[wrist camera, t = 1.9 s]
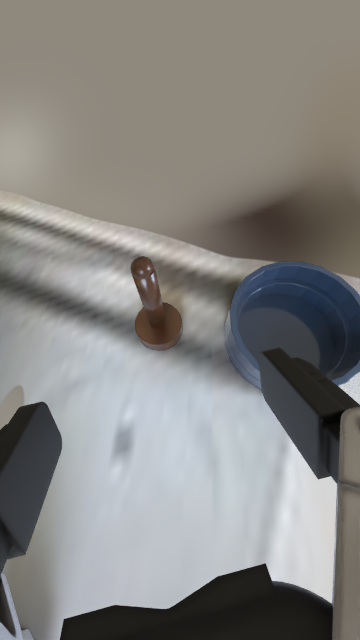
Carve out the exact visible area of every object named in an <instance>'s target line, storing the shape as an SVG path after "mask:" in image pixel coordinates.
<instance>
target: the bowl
mask: <svg viewBox="0 0 360 640" xmlns="http://www.w3.org/2000/svg"><path fill="white" fill-rule="evenodd" d="M224 337H225V347H226V349H227V352H228V354H229V357H230V360H231V362H232V364H233V365H234V366H235V367H236V369H237V370H238V371H239V372H240V374H241V375H242V376H243V377H244V378H245V379H246V380H247V381H249V382H250V383H252V384H253V385H255V386H256V387H257V388H259V389H260V390H262V389H261V380H260V369H259V352H261V351H266V350H270V349H274V348H278V347H279V348H281V349H283V350H284V351H285V352H286V353H287V354H288V355H289V356H290V357H291V358H295V357H299V358H301V359H303V360H306V361H308V362H310V363H312V364H313V365H314V366H315V367H316V368H317V369H319V370H320V371H321V373H323V374H324V375H326V376H327V377H328V378H329V380H331V381H333V382H334V383H335V384H336V385H337V386H339V385H341V384H344V383H346V382H348V381H349V380H350V379H352V378H353V377H354V376H355V375H356V374H358V373H359V372H360V296H359V294H358V293H357V291H356V290H355V289H354V288H352V287H351V286H350V285H349V284H348V283H347V282H346V281H345V280H343V279H342V278H341V277H340V276H338V275H336V274H334V273H332V272H330V271H328V270H327V269H325V268H323V267H320V266H316V265H313V264H308V263H305V262H299V261H297V262H296V261H294V262H277V263H273V264H270V265H266V266H263V267H261V268H259V269H258V270H256V271H255V272H253V273H251V274H250V275H248V276H247V277H246V278H245V279H244V280H243V282H242V283H241V284H240V286H239V287H238V288H237V289H236V291H235V293H234V297H233V300H232V303H231V306H230V310H229V313H228V316H227V319H226V323H225V326H224Z"/></svg>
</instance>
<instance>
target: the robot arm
mask: <svg viewBox="0 0 360 640" xmlns="http://www.w3.org/2000/svg"><path fill="white" fill-rule="evenodd" d="M259 369H260V380H261V389H262V393H263V396H264V398H265V401H266V402H267V404H268V405H269V407H270V408H271V410H272V411H273V413H274V414H275V416H276V417H277V419H278V420H279V422H280V423H281V425H282V426H283V428H284V429H285V431H286V432H287V434H288V435H289V437H290V438H291V440H292V441H293V443H294V444H295V446H296V447H297V449H298V450H299V452H300V453H301V455H302V456H303V458H304V459H305V460H306V462H307V463H308V465H309V466H310V468H311V469H312V471H313V472H314V474H315V475H316V477H317V478H318V479H321V478H325V477H329V476H332V478H333V479H334V480H335V482H336V483H337V502H336V526H335V549H334V571H333V593H332V604H331V603H330V602H328V601H327V600H325V599H324V598H322V597H320V596H318V595H317V594H315V593H313V592H311V591H309V590H307V589H304V588H301V587H299V586H296V585H293V584H289V583H284V582H278V581H272V580H271V577H270V575H269V572H268V569H267V566H266V563H265V564H262V565H258V566H255V567H251V568H247V569H244V570H240V571H237V572H233V573H229V574H226V575H222V576H218V577H216V578H215V579H213V580H212V581H210V582H209V583H207V584H206V585H204V586H203V587H201V588H200V589H198V590H197V591H195V592H194V593H192V594H191V595H189V596H188V597H186V598H185V599H183V600H182V601H180V602H179V603H177V604H176V605H174V606H173V607H171V608H168V609H154V608H143V607H131V606H119V605H114V606H110V607H106V608H103V609H99V610H96V611H92V612H88V613H85V614H81V615H78V616H74V617H70V618H67V619H64V621H63V626H62V632H61V637H60V640H360V405H359V404H358V403H357V402H356V401H355V400H353V399H352V398H351V397H350V396H349V395H348V394H347V393H345V392H344V391H343V390H342V389H341V388H340V387H338V386H337V385H336V384H335V383H334V382H333V381H331V380H329V378H328V377H327V376H326V375H324V374H323V373H321V371H320V370H319V369H317V368H316V367H315V366H314V365H313V364H312V363H310V362H308V361H306V360H303V359H301V358H299V357H295V358H291V357H290V356H289V355H288V354H287V353H286V352H285V351H284V350H283V349H281V348H279V347H278V348H274V349H270V350H266V351H261V352H259ZM61 449H62V439H61V434H60V432H59V430H58V428H57V425H56V423H55V421H54V419H53V417H52V415H51V412H50V410H49V408H48V406H47V404H46V403H44V402H39V403H34V404H30V405H26V406H22V407H20V408H18V410H17V411H16V413H15V414H14V416H13V417H12V419H11V420H10V422H9V423H8V424H7V425H5V426H4V427H3V428H2V429H1V430H0V640H24V637H23V634H22V631H21V627H20V624H19V620H18V617H17V613H16V610H15V607H14V603H13V600H12V596H11V593H10V589H9V586H8V583H7V579H6V577H5V575H4V574H3V572H2V571H3V568H4V565H5V563H6V560H7V559H10V558H14V557H18V556H22V555H25V554H26V551H27V549H28V546H29V543H30V540H31V537H32V534H33V531H34V528H35V525H36V523H37V520H38V517H39V514H40V511H41V508H42V505H43V502H44V499H45V497H46V494H47V491H48V488H49V485H50V482H51V479H52V476H53V473H54V471H55V468H56V465H57V462H58V459H59V456H60V453H61Z"/></svg>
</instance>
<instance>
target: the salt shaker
mask: <svg viewBox="0 0 360 640" xmlns="http://www.w3.org/2000/svg"><path fill="white" fill-rule="evenodd" d="M21 631H22V634H23V637H24V640H34V638H33V637H32V635H31V633H30V631H29V630H28V629H25V630H21Z"/></svg>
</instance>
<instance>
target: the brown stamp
mask: <svg viewBox="0 0 360 640" xmlns="http://www.w3.org/2000/svg"><path fill="white" fill-rule="evenodd" d="M131 273H132V276H133V279H134V281H135V284H136V287H137V290H138V292H139V295H140V298H141V301H142V303H143V306H144V308H143V309H142V310H141V311H140V312H139V313H138V315H137V317H136V320H135V329H136V332H137V335H138V336H139V338H140V340H141V342H142V343H143V344H144V345H145V346H146V347H148V348H150V349H153V350H166V349H169V348H171V347H172V346H174V345H175V344H176V343H177V342H178V340H179V339H180V337H181V334H182V320H181V316H180V314H179V312H178V311H177V309H176V308H174V307H173V306H172V305H170V304H167V303H163V302H162V299H161V294H160V290H159V285H158V280H157V276H156V271H155V266H154V263H153V262H152V261H151V259H149V258H147V257H144V256H141V257H137V258H136V259H134V260H133V262H132V264H131Z"/></svg>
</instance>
